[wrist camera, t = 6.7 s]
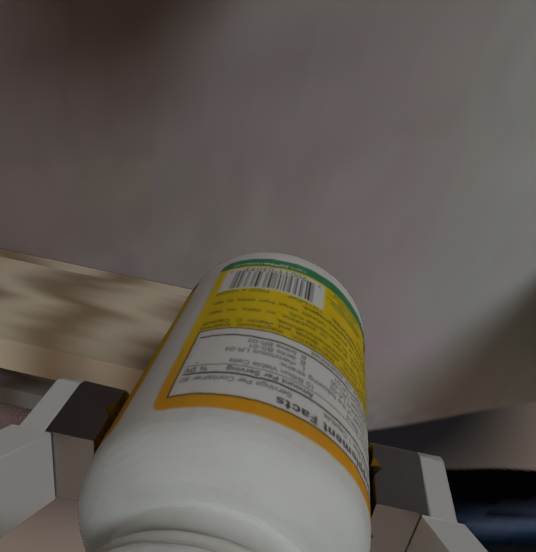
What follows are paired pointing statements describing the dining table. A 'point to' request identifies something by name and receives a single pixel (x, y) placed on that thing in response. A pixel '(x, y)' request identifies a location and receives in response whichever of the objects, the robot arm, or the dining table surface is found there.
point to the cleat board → (76, 325)
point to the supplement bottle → (242, 423)
